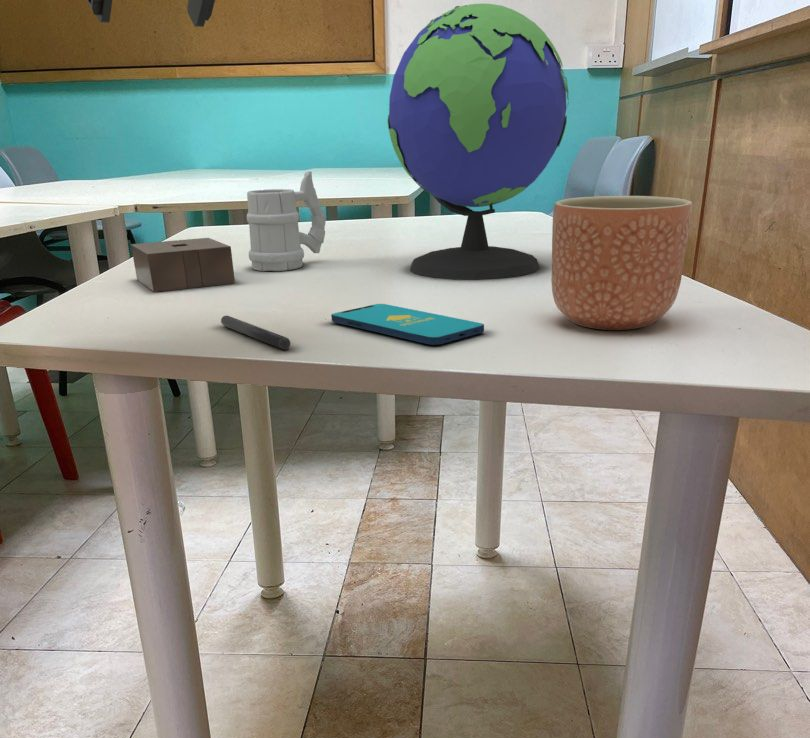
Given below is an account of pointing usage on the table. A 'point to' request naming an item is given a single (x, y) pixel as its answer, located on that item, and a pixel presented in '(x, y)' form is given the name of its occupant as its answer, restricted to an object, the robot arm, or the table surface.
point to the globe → (477, 125)
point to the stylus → (256, 332)
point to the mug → (283, 226)
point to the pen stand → (183, 264)
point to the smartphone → (408, 323)
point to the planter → (618, 258)
